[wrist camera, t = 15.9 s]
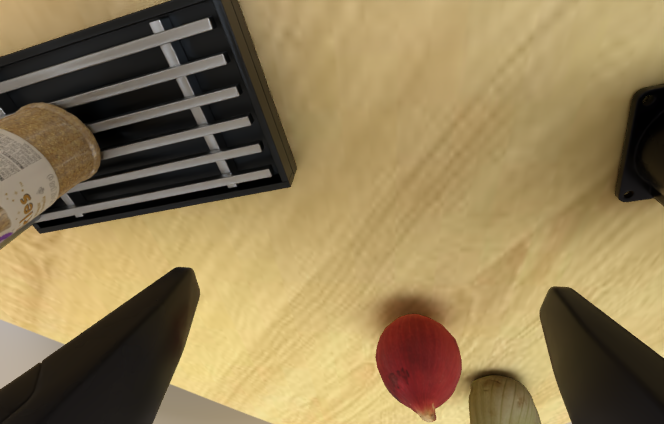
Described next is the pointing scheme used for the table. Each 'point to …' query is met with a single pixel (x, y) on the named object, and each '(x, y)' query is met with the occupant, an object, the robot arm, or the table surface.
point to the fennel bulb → (501, 402)
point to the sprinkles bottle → (41, 161)
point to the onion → (419, 363)
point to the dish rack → (157, 111)
